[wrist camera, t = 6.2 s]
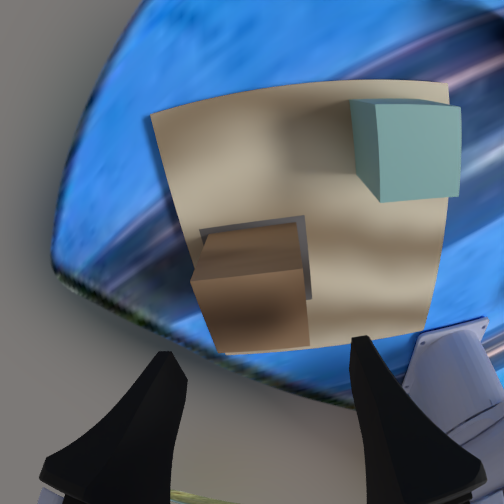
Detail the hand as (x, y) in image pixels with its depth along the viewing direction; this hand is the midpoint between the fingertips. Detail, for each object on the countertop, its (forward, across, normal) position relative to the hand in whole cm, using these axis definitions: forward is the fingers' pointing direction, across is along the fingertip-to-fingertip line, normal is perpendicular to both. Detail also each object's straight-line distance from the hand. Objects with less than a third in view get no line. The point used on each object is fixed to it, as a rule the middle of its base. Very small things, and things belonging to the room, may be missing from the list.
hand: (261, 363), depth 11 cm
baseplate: (+8, -4, 0) cm, 9 cm away
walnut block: (+8, 0, 0) cm, 8 cm away
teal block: (+8, -8, -6) cm, 13 cm away
